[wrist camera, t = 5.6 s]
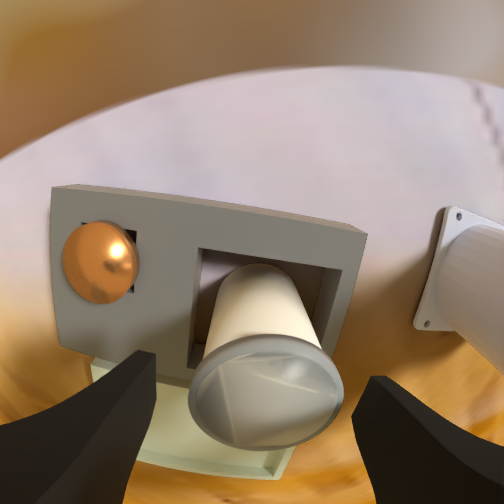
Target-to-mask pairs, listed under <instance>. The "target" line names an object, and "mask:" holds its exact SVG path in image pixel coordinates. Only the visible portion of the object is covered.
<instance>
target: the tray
mask: <svg viewBox="0 0 504 504" xmlns="http://www.w3.org/2000/svg"><path fill="white" fill-rule="evenodd" d="M117 365H118V364H117V363H113V362H109V361H106V360H102V359H99V358H96V357H95V358H94V360H93V361H92V362H91V364H90V367H91V372H92V378H93V383H94V382H95V381H97V380H98V379H99V378H101V377H102V376H104V375H105V374H106V373H108V372H109V371H110V370H112V369H113V368H114V367H116V366H117ZM191 381H192V380H187V379H181V378H176V377H171V376H166V375H162V374H157V373H156V391H157V400H156V404H155V408H154V412H153V415H152V419H151V423H150V426H149V428H148V431H147V433H146V436H145V438H144V441H143V443H142V446H141V448H140V451H139V453H138V456H137V458H136V460H138V461H142V462H146V463H150V464H154V465H158V466H162V467H167V468H172V469H177V470H182V471H188V472H194V473H200V474H207V475H214V476H223V477H233V478H245V479H263V480H279V479H280V477H281V475H282V473H283V471H284V469H285V468H286V466H287V464H288V462H289V460H290V458H291V456H292V454H293V451H294V449H295V447H296V446H293V447H290V448H285V449H281V450H274V451H249V450H242V449H237V448H233V447H230V446H227V445H225V444H222V443H220V442H218V441H216V440H214V439H213V438H211V437H210V436H208V435H207V434H206V433H204V432H203V431H202V430H201V429H200V428H199V427H198V426H197V424H196V423H195V421H194V420H193V418H192V416H191V414H190V411H189V407H188V394H189V389H190V385H191Z"/></svg>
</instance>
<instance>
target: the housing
mask: <svg viewBox="0 0 504 504" xmlns="http://www.w3.org/2000/svg"><path fill="white" fill-rule="evenodd" d="M97 220H107V221H111V222H114V223H116V224H118V225H120V226H121V227H122V228H124V229H129V230H135V231H137V238H136V247H137V250H138V253H139V259H140V268H139V274H138V277H137V279H136V281H135V283H134V284H133V286H132V287H131V288H130V289H129V290H128V291H127V292H126V293H125V294H124V295H123V296H122V297H121V298H120V299H119V300H117V301H115V302H113V303H110V304H97V303H93V302H91V301H89V300H87V299H85V298H83V297H82V296H81V295H80V294H79V293H78V292H77V291H76V290H75V289H74V288H73V287H72V285H71V284H70V282H69V280H68V278H67V276H66V273H65V270H64V265H63V250H64V246H65V243H66V240H67V238H68V237H69V235H70V234H71V233H72V232H73V231H74V230H75V229H76V228H78V227H80V226H82V225H85V224H87V223H90V222H93V221H97ZM367 236H368V234H367V233H365V232H363V231H361V230H359V229H357V228H355V227H354V226H352V225H350V224H345V223H340V222H335V221H330V220H324V219H319V218H314V217H309V216H303V215H298V214H292V213H287V212H281V211H275V210H270V209H264V208H258V207H252V206H246V205H239V204H233V203H227V202H220V201H213V200H206V199H200V198H192V197H185V196H178V195H170V194H163V193H155V192H146V191H138V190H129V189H120V188H111V187H101V186H91V185H80V184H75V185H66V186H57V187H52V191H51V211H50V256H51V275H52V288H53V298H54V307H55V315H56V322H57V329H58V335H59V341H60V346H62V347H65V348H68V349H71V350H74V351H77V352H80V353H83V354H86V355H89V356H93V357H96V358H99V359H102V360H106V361H109V362H113V363H117V364H120V363H121V362H122V361H123V360H125V359H126V358H127V357H129V356H130V355H131V354H132V353H134V352H135V351H137V350H142V351H146V352H151V353H155V354H156V373H157V374H162V375H166V376H171V377H176V378H181V379H187V380H192V377H193V374H194V372H195V370H196V368H197V367H198V365H199V364H200V363H201V361H202V360H203V356H204V351H205V347H206V345H204V344H198V343H194V336H195V325H196V315H197V306H198V296H199V287H200V278H201V270H202V262H203V254H204V248H206V249H212V250H218V251H225V252H231V253H237V254H244V255H250V256H257V257H263V258H269V259H276V260H282V261H289V262H295V263H301V264H308V265H314V266H321V267H325V271H324V275H323V279H322V283H321V287H320V291H319V294H318V298H317V302H316V306H315V309H314V313H313V317H312V320H311V325H312V327H313V329H314V332H315V334H316V337H317V339H318V342H319V344H320V346H321V349H322V350H323V351H324V352H325V353H327V355H328V356H329V357H330V358H332V355H333V353H334V350H335V347H336V344H337V341H338V338H339V335H340V332H341V329H342V326H343V323H344V320H345V317H346V313H347V310H348V307H349V304H350V300H351V297H352V293H353V290H354V286H355V283H356V279H357V276H358V272H359V268H360V264H361V260H362V256H363V252H364V248H365V244H366V240H367Z"/></svg>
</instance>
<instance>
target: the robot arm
mask: <svg viewBox="0 0 504 504" xmlns="http://www.w3.org/2000/svg"><path fill="white" fill-rule="evenodd" d="M457 213H458V218H457V219H456V215H457ZM426 321H427V323H426V324H424V323H425V322H426ZM413 326H414V327H415V328H416V329H417V330H427V331H456V332H457V333H458V334H459V335H460V336H461V337H462V338H463V339H465V340H466V341H467V342H468V343H469V344H470V345H471V346H472V347H474V348H475V349H476V350H477V351H478V352H479V353H480V354H481V355H482V356H483V357H485V358H486V359H487V360H488V361H489V362H490V363H491V364H492V365H493V366H494V367H495V368H496V369H497V370H498V371H499V372H500V373H502V374H503V375H504V226H503V225H501V224H498V223H496V222H493V221H491V220H489V219H486V218H484V217H481V216H479V215H476V214H473V213H471V212H468V211H466V210H463V209H460V208H457V207H455V206H448V207H447V208H446V210H445V213H444V218H443V223H442V227H441V232H440V236H439V240H438V244H437V248H436V252H435V256H434V259H433V263H432V266H431V270H430V273H429V277H428V280H427V283H426V286H425V289H424V292H423V295H422V298H421V301H420V304H419V307H418V310H417V312H416V315H415V318H414V321H413ZM156 400H157V391H156V354H155V353H151V352H146V351H142V350H137V351H135V352H134V353H132V354H131V355H130V356H129V357H127V358H126V359H125V360H123V361H122V362H121V363H120V364H118V365H117V366H116V367H114V368H113V369H112V370H110V371H109V372H108V373H106V374H105V375H104V376H102V377H101V378H99V379H98V380H97V381H95V382H94V383H92V384H91V385H89V386H88V387H86V388H85V389H83V390H81V391H80V392H78V393H77V394H75V395H73V396H72V397H70V398H68V399H66V400H65V401H63V402H61V403H59V404H57V405H55V406H53V407H51V408H49V409H47V410H44V411H42V412H40V413H37V414H34V415H32V416H29V417H26V418H23V419H20V420H17V421H15V422H11V423H7V424H3V425H0V504H122V503H123V499H124V495H125V490H126V486H127V483H128V480H129V476H130V474H131V471H132V468H133V466H134V463H135V461H136V458H137V456H138V453H139V451H140V448H141V446H142V443H143V441H144V438H145V436H146V433H147V431H148V428H149V426H150V423H151V419H152V415H153V412H154V408H155V404H156ZM351 418H352V423H353V429H354V433H355V438H356V442H357V445H358V447H359V450H360V453H361V456H362V459H363V461H364V464H365V467H366V470H367V473H368V475H369V478H370V481H371V484H372V487H373V490H374V494H375V498H376V504H504V446H500V445H497V444H494V443H492V442H489V441H487V440H484V439H482V438H479V437H477V436H475V435H473V434H471V433H469V432H467V431H465V430H463V429H461V428H460V427H458V426H456V425H454V424H453V423H451V422H450V421H448V420H447V419H445V418H444V417H442V416H441V415H439V414H438V413H436V412H435V411H433V410H432V409H431V408H429V407H428V406H426V405H425V404H424V403H422V402H421V401H420V400H418V399H417V398H416V397H414V396H413V395H412V394H411V393H409V392H408V391H407V390H405V389H404V388H403V387H401V386H400V385H399V384H397V383H396V382H394V381H393V380H392V379H390V378H388V377H387V376H371V377H370V379H369V382H368V384H367V386H366V388H365V390H364V392H363V394H362V396H361V398H360V400H359V402H358V404H357V406H356V408H355V410H354V412H353V414H352V416H351Z"/></svg>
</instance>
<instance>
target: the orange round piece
mask: <svg viewBox="0 0 504 504" xmlns="http://www.w3.org/2000/svg"><path fill="white" fill-rule="evenodd" d="M136 238H137V231H135V230H129V229H124V228H122V227H121V226H120V225H118V224H116V223H114V222H111V221H107V220H97V221H93V222H90V223H87V224H85V225H82V226H80V227H78V228H76V229H75V230H74V231H73V232H72V233H71V234H70V235H69V237H68V238H67V240H66V243H65V246H64V250H63V265H64V270H65V273H66V276H67V278H68V280H69V282H70V284H71V285H72V287H73V288H74V289H75V290H76V291H77V292H78V293H79V294H80V295H81V296H82V297H83V298H85V299H87V300H89V301H91V302H93V303H97V304H110V303H113V302H115V301H117V300H119V299H120V298H121V297H122V296H123V295H124V294H125V293H126V292H127V291H128V290H129V289H130V288H131V287H132V286H133V284H134V283H135V281H136V279H137V277H138V274H139V268H140V259H139V253H138V250H137V247H136Z"/></svg>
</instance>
